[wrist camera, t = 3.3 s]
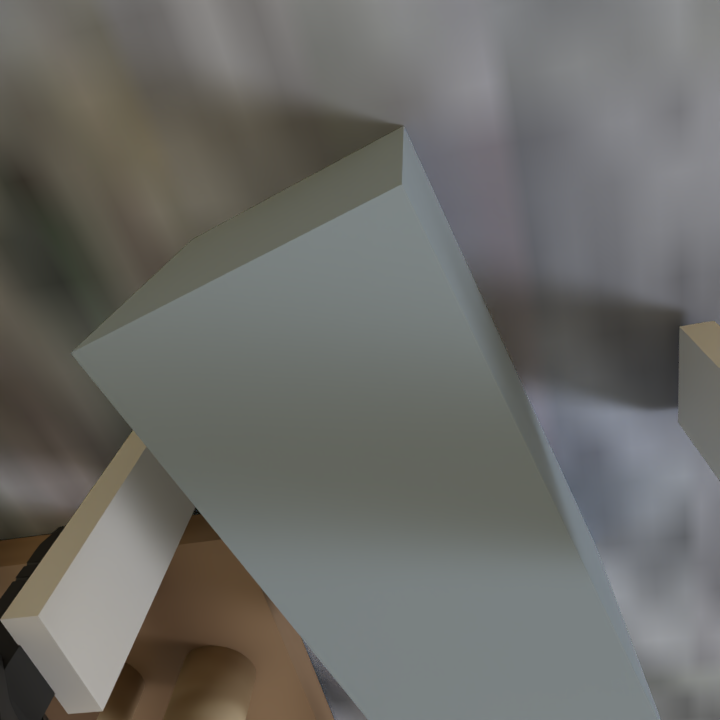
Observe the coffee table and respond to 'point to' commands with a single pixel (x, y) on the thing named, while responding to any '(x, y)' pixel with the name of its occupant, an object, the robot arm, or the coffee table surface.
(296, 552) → the shelf board
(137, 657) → the peg stand
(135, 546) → the robot arm
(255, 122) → the coffee table surface
